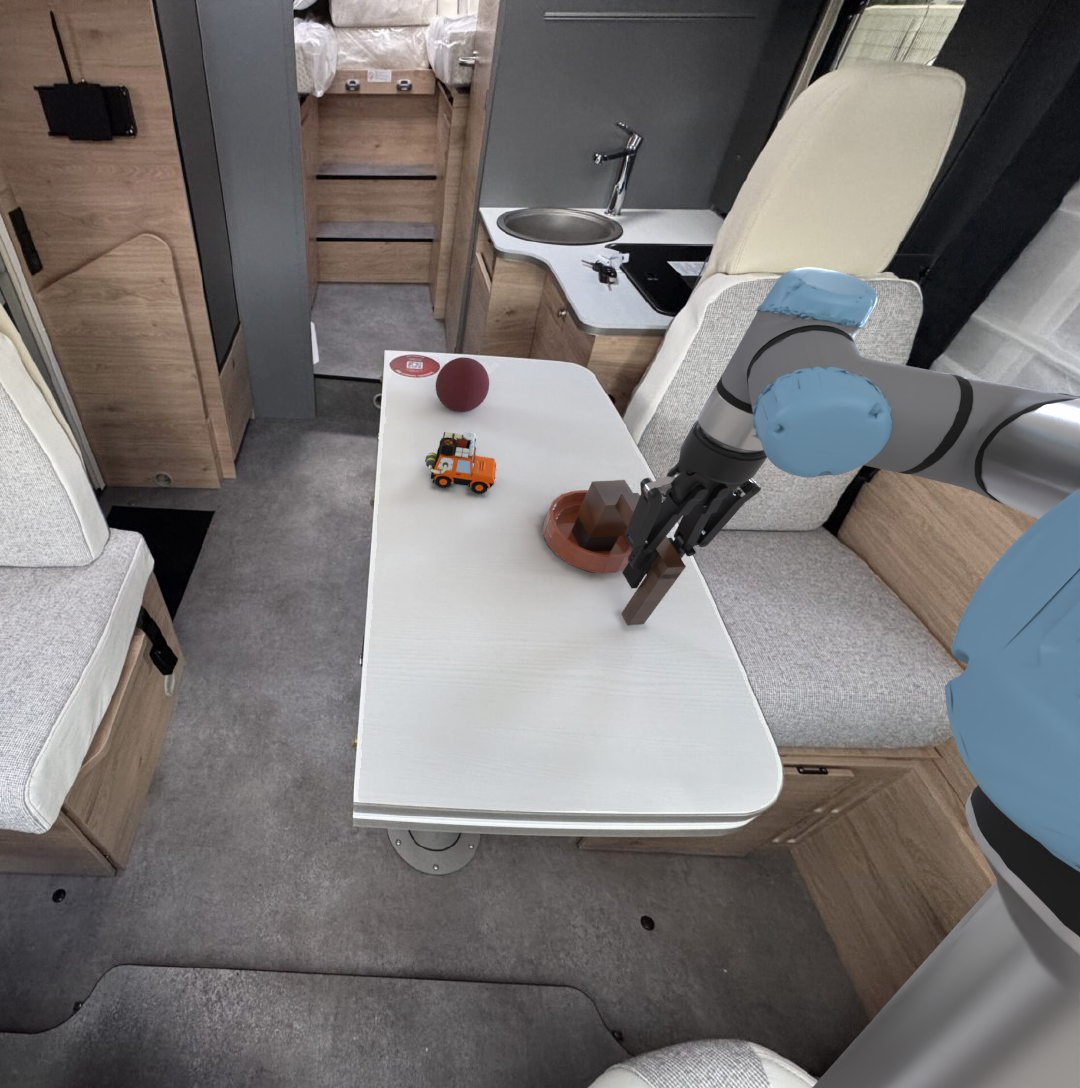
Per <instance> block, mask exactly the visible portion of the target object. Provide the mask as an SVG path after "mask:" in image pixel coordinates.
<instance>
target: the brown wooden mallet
mask: <svg viewBox="0 0 1080 1088" xmlns="http://www.w3.org/2000/svg"><path fill="white" fill-rule="evenodd" d="M587 490H588V492H587V494H586V496H585V498H584V500H583V502H582V504H581V507H580V509H579V511H578V513H577V514H578V518H577V520H576V522H575V524H574V526H573V528H572V532H573V534H574V536H575V538H576V540H577V542H578V544H579V546H580V547H581V548H584V549H587V550H589V551H592V552H598V551H611V550H612V548H613V547H614V545H615V543H616V541H617V540H618V538H619V536H622V535H623V533H624V531H625V530H626V528H627V527H628V525H629V523H630V520H631V518H632V515H633V513H634V510H635V508H636V505H637V503H638V500H639V498H640V495H641V494H640V493H639V492H633V490H632V488H631V487H630V486H629V484H628V483H627V481H626V480H625V479H616V480H595V481H593V480H592V481H591V483H590V485H589V487H588V489H587ZM668 538H669V537H668V535H667V536H666V537H665V538H664V539H663V541H662V542H661V543H660V545H659V546H658V547H657V548H656V550H655V551H656V552H657V554H658V556H657V558H656V559H655V561H654V562H653V564H652V565H651V567H652V568H651V569H650V571H649V572H648V574H647V575H645V576H644V578H643V579H642V581H641V582H640V584H639V586H638V587H637V588H636V590H635V591H634V593H633V595H632V596H631V598H630V600H629V601H628V602H627V604H626V606H625V607H624V608H623V610H622V612H621V614H620V615H621V617H622V618H623V620H624V622H625V624H626V625H627V626H638V625H640V626H641V625H644V624H645V623H646V622H647V620H648V619H649V618H650V617H651V615H652V614H653V613H654V611H655V609H656V608H657V607H658V606H659V604H660V603H661V601H662V600H663V599H664V598H665V597H666V595H667V593H668V592H670V589H671V588H672V587H673V586H674V584H675V582H676V581H677V580H678V578H679V577H680V576H681V574H682V573H683V572H684V571H685V569H686V568H687V565H686V564H685V562H684V560H683V559H681V558H680V556H679V555H678V553H677V552H676V550H675V549H674V547H673V546H672V544H671V542H670V541H669V539H668Z"/></svg>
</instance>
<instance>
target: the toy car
mask: <svg viewBox="0 0 1080 1088" xmlns="http://www.w3.org/2000/svg"><path fill="white" fill-rule="evenodd" d="M477 438H478V436H477V434H476V432H474V431H465V432H464V433H463V434H461V433H456V432H448V431H444V432H443V435H442V437H441V439H440V441H439V445H438V448H437V450H436V453H435V452H428V453H427V455H426V456H425V460H424V463H425V466H426V467H427V468H428V471H429V472H431V473H430V478H429V479H430V480H432V484H434V483H435V485H436V487H438V488H441V489H447V488H449V487H451V485H459V486H466V487H468V488H470V491H472V493H474V494H476V495H482V494H486V492H488V490H490V489H491V488H492V487H493V486H494V485H495V483H496V482H497V478H496V471H497V470H498V466H497V462H496V459H495V458H493V457H486V456H480V455H477V454H476V453H477V447H476V441H477Z"/></svg>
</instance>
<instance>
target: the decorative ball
mask: <svg viewBox="0 0 1080 1088" xmlns="http://www.w3.org/2000/svg"><path fill="white" fill-rule="evenodd" d="M487 371H488V370H486V368H485V366H484V365H483V364H482V363H480V361H478V360H476V359H474V358H471V357H465V356H463V357H457V358H453V359H451V360H449V361H448V362H447V363H445V364H444V365H443V366H442V367H441V369H440V370H439V372H438V373H437V377H436V380H435V394H436V396H437V398H438V400H439V402H440V403H441V404H442V406H444V407H445V408H446V409H448V410H449V411H452V412H455V413H467V412H471V411H473V410H475V409H476V408H479V406H480V405H481V404H482V403H484V401H485V399H486V398H487V396H488V393H489V390H490V377H489V373H488V372H487Z"/></svg>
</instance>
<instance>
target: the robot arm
mask: <svg viewBox="0 0 1080 1088" xmlns="http://www.w3.org/2000/svg"><path fill="white" fill-rule="evenodd" d="M877 302H878V294H877V291H876V290H875V289H874V287H873V286H871V285H870V284H869V283H867V282H866V281H864V280H862V279H860V278H858V277H855V276H854V275H851V274H847V273H845V272H842V271H837V270H833V269H832V270H831V269H827V268H819V267H800V268H794V269H791V270H789V271H786V272H785V273H783V274H782V275H781V276H780V277H778V279H776V281H775V283H774V284H773V286H772V287H771V289H769V292H768V294H767V295H766V297H765V298H764V300H763V301H762V302H761V304H760V305H758V306H757V307H756V310H755V311H756V313H755V315H754V317H753V319H752V321H751V322H750V324H749V325H748V328H747V329H746V331H745V332H744V335H743V336H742V338H741V340H740V342H739V344H738V346H737V347H736V349H735V351H734V353H733V354H732V356H731V358H730V360H729V362H728V364H727V365H726V367H725V368H724V371H723V372H722V374H721V376H720V378H719V379H718V381H717V382H716V384H715V386H714V388H713V390H712V392H711V393H710V395H709V397H708V399H707V400H706V402H705V404H704V405H703V407H702V409H701V410H700V412H699V414H698V416H697V420H695V422H693V425H692V426H691V428H690V429H689V432H688V433H687V435H686V437H685V439H684V441H682V443H681V446H680V450H679V457H678V461H677V463H676V464H675V465H674V466H673V467H671V468H670V469H669V470H668V472H667V474H666V476H665V477H663V478H660V479H657V480H655V481H653V480H652V478H651V477H645V478H642V480H641V481H640V482H639V483H640V485H639V486H640V494H639V495H640V498H639V500H638V503H637V505H636V508H635V510H634V513H633V515H632V518H631V520H630V523H629V525H628V527H627V530H626V532H625V537H626V539H627V541H628V543H629V544H630V546H631V548H632V549H633V550H632V551H631V553H630V555H629V557H628V562H629V563H628V564H627V566H626V568H625V569H623V570H622V575H623V577H624V578H625V580H626V582H627V584H628V585H629V588H630V589H632V590H634V589H638V587H639V586H640V584H641V583H642V581H643V580H644V578H645V577H646V575H647V574H648V572H649V571H650V569H651V568H652V567H651V565H652V564H653V562H654V561H655V559H656V558H657V556H658V554H657V552H656V551H655V550H656V548H657V547H658V546H659V545H660V543H661V542H662V541H663V539H664V538H665V537H666V536H667V538H668V539H669V541H670V542H671V544H672V546H673V547H674V549H675V550H676V552H677V553H678V555H679V556H680V558H681V559H682V558H683V557H684V556H687V557H692V556H694V555H696V553H697V551H696V550H695V548H694V547H696V546H699V548H706V547H707V546H708V545H710V544H711V542H712V541H713V540H714V539H715V538H716V537H717V535H718V534H719V533H720V532H721V531H722V530H723V529H724V527H725V526H726V525H727V524H728V523H729V521H731V519H732V518H733V517H734V516H735V515H736V514H737V512H738V511H739V510H740V509H741V508H742V507H743V506H744V505H745V503H746V502H748V501H749V500H751V499H752V498H753V497H755V496H756V495H757V494H759V493H760V492H761V490H762V488H761V486H760V485H759V484H758V483H757V482H756V481H755V479H753V478H754V477H755V476H756V475H757V473H758V472H759V470H760V469H761V467H762V466H763V464H764V463H765V462H766V461H767V460H769V461H770V463H771V464H772V465H773V466H775V467H776V468H777V469H779V470H781V471H782V472H785V473H787V474H789V475H793V476H795V477H799V478H808V479H813V478H816V477H824V476H834V477H835V476H841V475H845V474H848V473H850V472H853V471H855V470H857V469H859V468H860V467H863V466H866V467H869V468H870V467H871V468H875V469H879V470H884V471H888V472H893V473H899V474H902V475H911V476H914V477H919V478H923V479H927V480H931V481H934V482H939V483H944V484H947V485H950V486H951V485H952V486H954V487H959V488H962V489H966V490H968V491H972V492H973V493H975V494H977V495H980V496H983V497H984V498H987V499H989V500H991V501H994V502H997V503H999V504H1002V505H1004V506H1007V507H1010V508H1012V509H1014V510H1016V511H1019V512H1021V513H1023V514H1025V515H1028V516H1030V517H1032V518H1034V519H1037V520H1036V521H1035V522H1034V523H1032V525H1031V526H1029V528H1027V530H1025V531H1024V533H1022V534H1021V535H1020V536H1019V537H1018V538H1017V539H1016V540H1015V541H1014V542H1013V543H1012V545H1011V546H1009V547H1008V549H1007V550H1006V551H1005V552H1004V553H1003V554H1002V555H1001V556H1000V558H999V559H998V560H997V561H996V562H995V563H994V564H993V566H992V567H990V570H989V571H988V572H987V574H986V575H985V576H984V578H983V579H982V580H981V582H980V584H979V585H978V587H976V590H975V591H974V593H973V595H972V597H971V599H970V601H969V602H968V603H967V606H966V608H965V609H964V611H963V613H962V615H961V618H960V620H959V622H958V625H957V627H956V630H955V634H954V637H953V641H952V644H951V647H950V651H951V655H952V656H953V657H954V658H955V659H957V660H958V661H960V662H962V663H964V664H966V669H965V670H964V671H963V672H961V674H960V675H958V676H956V677H954V678H952V679H951V680H949V681H948V682H947V683H946V684H945V686H944V690H945V691H944V692H945V707H946V712H947V718H948V723H949V727H950V730H951V734H952V737H953V740H954V743H955V746H956V748H957V751H958V755H960V757H961V759H962V761H963V764H965V767H966V768H967V771H968V772H969V774H970V775H971V776H972V777H973V779H974V780H975V782H976V784H977V785H976V787H975V788H973V790H971V793H970V794H969V795H968V797H967V800H966V803H965V807H964V808H965V819H966V821H967V825H968V827H969V830H970V832H971V834H972V836H973V838H974V840H975V842H976V843H977V846H978V847H979V849H980V851H981V853H982V855H983V856H984V858H985V860H986V862H987V864H988V866H989V867H990V869H991V871H992V873H993V875H994V877H995V879H996V880H995V881H994V883H992V885H990V887H989V888H988V889H987V890H986V891H985V892H984V894H983V895H981V897H980V898H979V899H978V900H977V901H976V902H975V904H973V906H972V907H971V908H970V909H969V910H968V912H966V913H965V915H964V916H963V917H962V918H961V919H960V921H959V922H958V923H957V924H956V925H955V926H954V927H953V929H952V930H951V931H950V932H949V933H948V934H947V935H946V936H945V937H944V939H942V941H941V942H940V943H939V944H938V945H937V946H936V948H935V949H934V950H933V951H932V952H930V953H929V955H928V957H927V958H926V959H925V960H924V961H923V962H922V964H920V965H919V967H918V968H917V969H915V971H914V972H913V974H912V975H910V977H909V978H908V979H907V980H906V981H905V982H904V984H902V986H900V988H899V989H898V990H897V991H896V993H895V994H894V995H893V996H892V997H891V998H890V999H889V1001H887V1003H886V1004H885V1005H884V1006H883V1007H882V1009H881V1010H880V1011H878V1013H877V1014H876V1015H875V1016H874V1017H873V1018H872V1020H871V1021H870V1022H869V1023H868V1024H867V1025H866V1026H865V1027H864V1029H863V1030H861V1032H860V1033H859V1034H858V1035H857V1036H856V1038H855V1039H854V1040H853V1041H852V1042H851V1043H850V1044H849V1046H848V1047H846V1049H845V1050H844V1051H843V1052H842V1053H841V1054H840V1056H839V1057H838V1058H837V1059H836V1060H835V1061H834V1062H833V1064H831V1066H829V1068H828V1069H827V1070H826V1071H825V1073H823V1075H822V1076H821V1077H820V1078H819V1079H818V1080H817V1082H816V1083H815V1084H813V1086H812V1087H811V1088H1080V395H1072V394H1069V393H1061V392H1052V391H1051V392H1050V391H1045V390H1041V389H1040V390H1039V389H1034V388H1029V387H1024V386H1018V385H1012V384H1007V383H1000V382H994V381H989V380H982V379H976V378H972V377H965V376H961V375H958V374H952V373H947V372H942V371H936V370H933V369H932V370H931V369H926V368H920V367H915V366H910V365H904V364H899V363H894V362H887V361H883V360H878V359H872V358H867V357H864V356H863V355H862V353H861V351H860V350H859V348H858V346H857V344H856V341H855V339H854V338H855V336H856V335H857V334H858V333H859V332H860V330H862V329H863V330H864V327H865V326H866V324H867V323H866V322H867V320H868V319H869V316H870V315H871V313H872V312H873V310H874V308H875V307H876V305H877ZM677 523H678V525H677ZM676 525H677V527H676V530H675V531H674V534H673V538H674V539H673V538H672V537H668V535H669V533H670V532H671V531H672V530H673V528H675V526H676ZM703 531H704V532H703ZM682 560H683V559H682Z"/></svg>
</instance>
